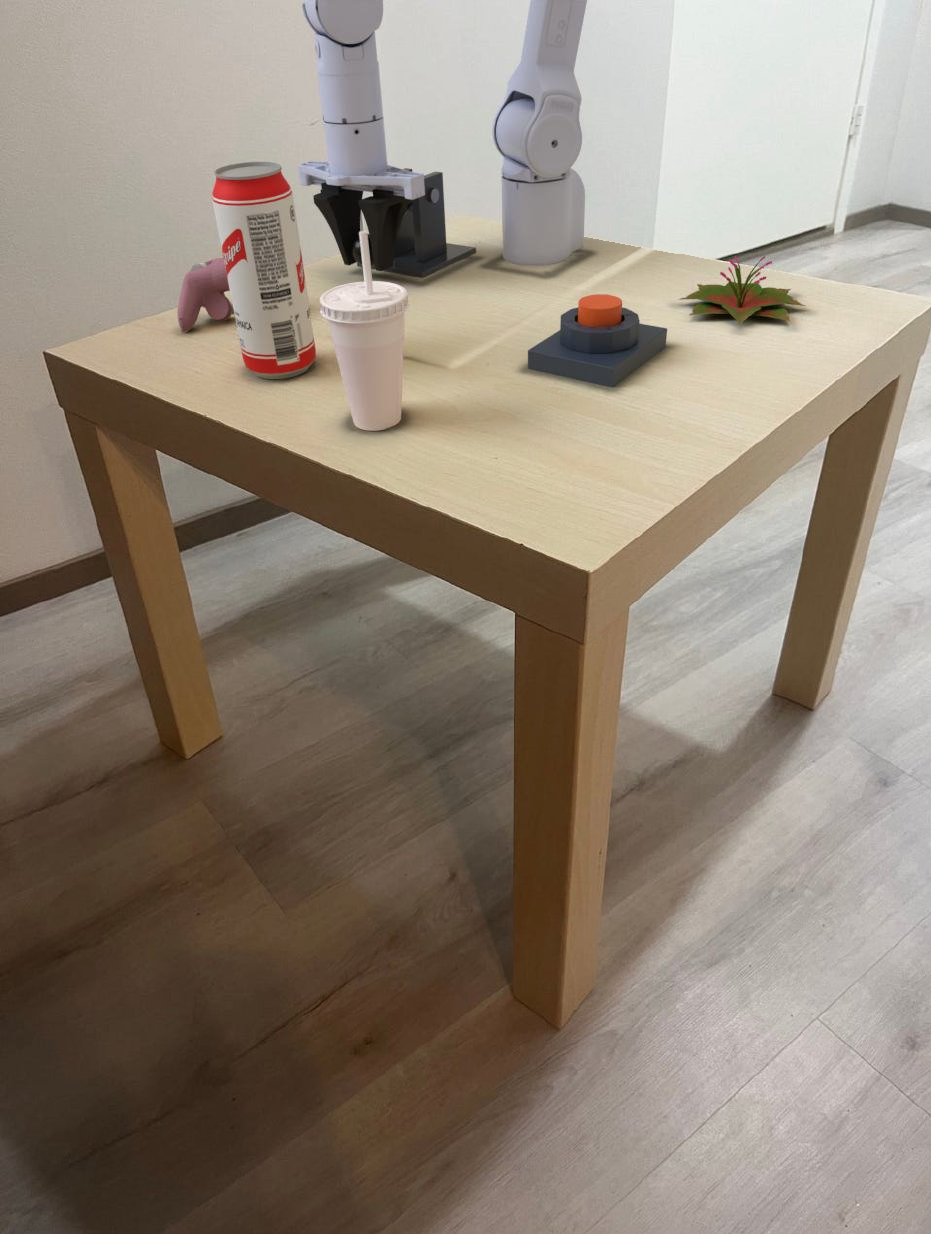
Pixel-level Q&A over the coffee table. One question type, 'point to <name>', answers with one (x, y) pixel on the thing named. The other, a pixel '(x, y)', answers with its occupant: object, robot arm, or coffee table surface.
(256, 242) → the beer can
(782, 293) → the lily flower
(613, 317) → the button
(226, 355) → the coffee table surface
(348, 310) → the smoothie
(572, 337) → the button box
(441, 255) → the bracket
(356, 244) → the lever
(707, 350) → the coffee table surface
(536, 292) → the coffee table surface
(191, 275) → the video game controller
